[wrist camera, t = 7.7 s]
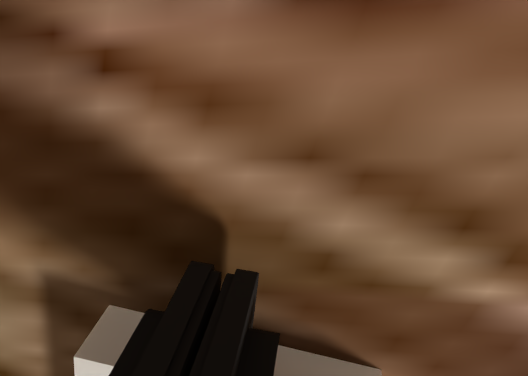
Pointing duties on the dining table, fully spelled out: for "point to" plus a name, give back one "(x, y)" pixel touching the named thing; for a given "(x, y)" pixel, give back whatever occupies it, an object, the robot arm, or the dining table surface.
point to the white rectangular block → (125, 322)
